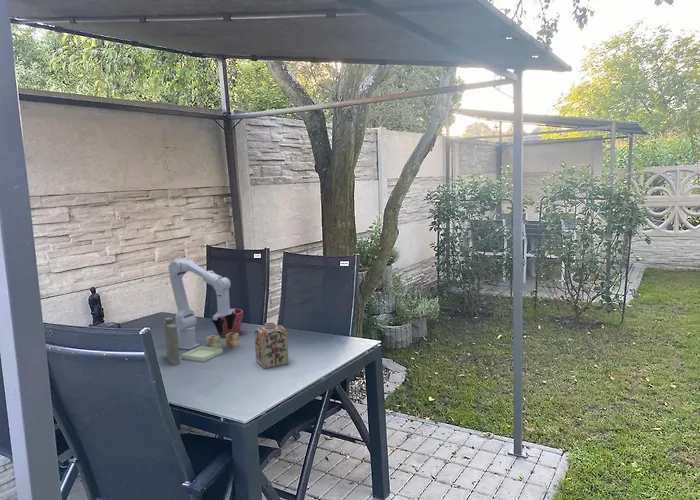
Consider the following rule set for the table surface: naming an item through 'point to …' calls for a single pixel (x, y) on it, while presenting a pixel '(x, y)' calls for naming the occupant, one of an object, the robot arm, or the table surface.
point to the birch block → (213, 341)
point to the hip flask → (171, 341)
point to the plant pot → (235, 324)
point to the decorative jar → (271, 345)
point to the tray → (202, 354)
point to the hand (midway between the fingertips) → (225, 331)
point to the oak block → (232, 339)
